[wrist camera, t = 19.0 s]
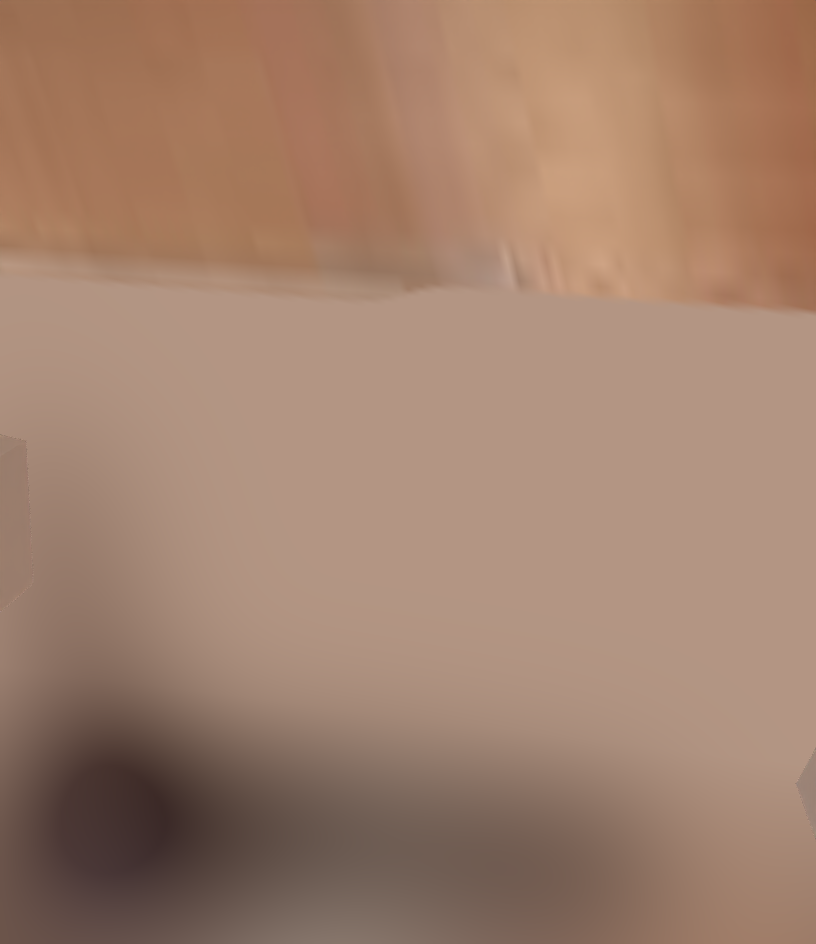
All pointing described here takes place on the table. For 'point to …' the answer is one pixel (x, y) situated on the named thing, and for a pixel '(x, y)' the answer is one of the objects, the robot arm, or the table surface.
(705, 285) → the table surface
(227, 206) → the table surface
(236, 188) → the table surface
